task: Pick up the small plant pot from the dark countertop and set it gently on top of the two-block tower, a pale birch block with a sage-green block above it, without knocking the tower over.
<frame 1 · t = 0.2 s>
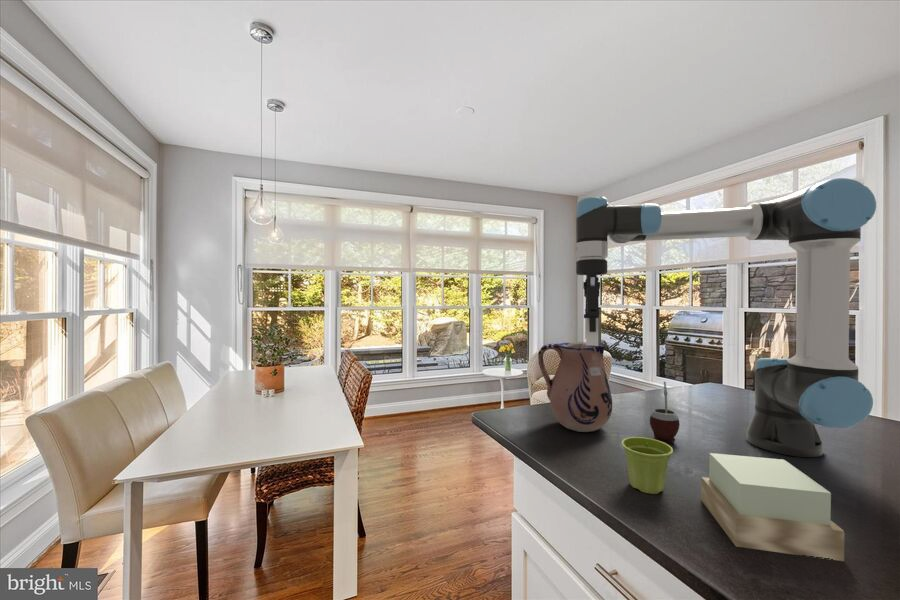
hand: (591, 342, 99), 28 cm above the kitchen island, tool pointing down, fingers open, 13 cm apart
ceramic pitcher: (574, 427, 115), on the kitchen island
plant pot: (646, 488, 79), on the kitchen island
lower block: (763, 529, 66), on the kitchen island, touching upper block
mate gourd: (663, 440, 105), on the kitchen island
upper block: (763, 499, 66), point 5 cm above the kitchen island, touching lower block
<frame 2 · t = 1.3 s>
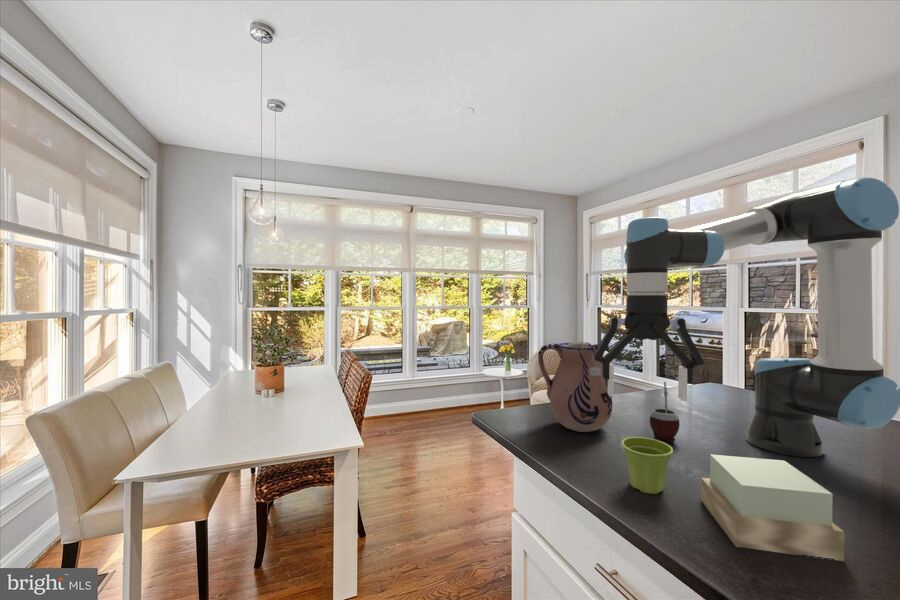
hand: (645, 397, 79), 19 cm above the kitchen island, tool pointing down, fingers open, 13 cm apart
nothing on the kitchen island moved.
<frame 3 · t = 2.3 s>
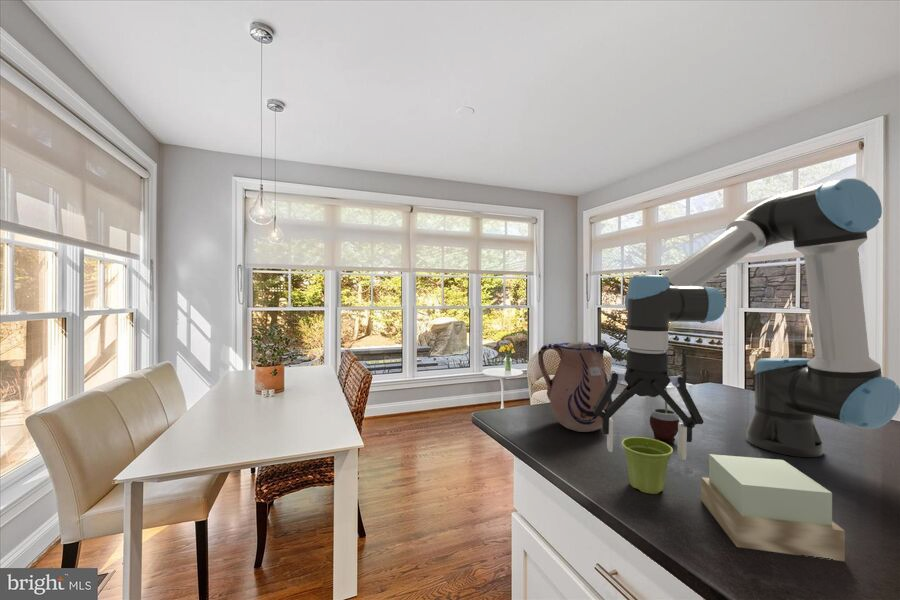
hand: (645, 453, 79), 7 cm above the kitchen island, tool pointing down, fingers open, 13 cm apart
lower block: (763, 529, 66), on the kitchen island
upper block: (763, 500, 66), point 5 cm above the kitchen island
everything else where it was.
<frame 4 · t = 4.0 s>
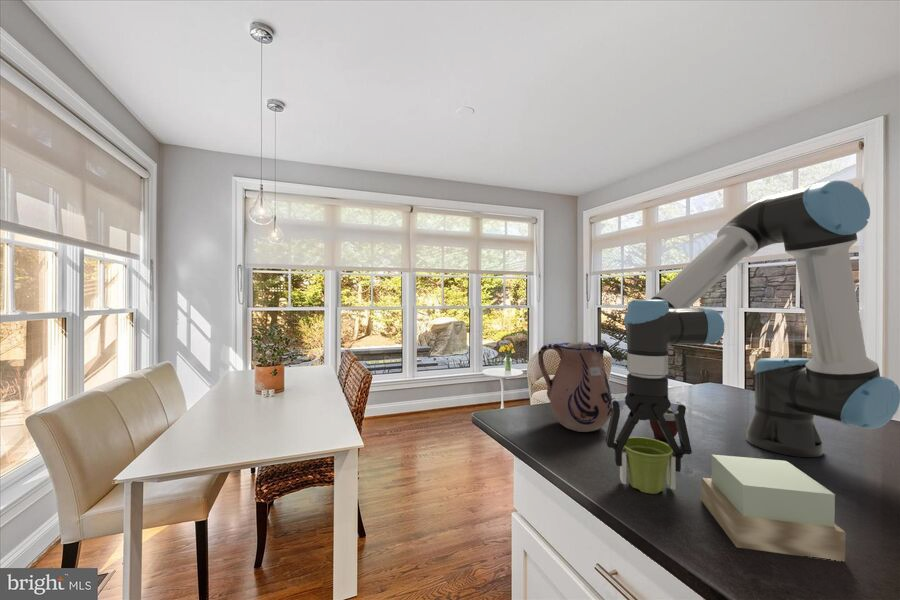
hand: (646, 483, 79), 1 cm above the kitchen island, tool pointing down, fingers closed on plant pot, 8 cm apart
plant pot: (646, 487, 79), on the kitchen island, touching gripper
lower block: (763, 530, 65), on the kitchen island, touching upper block
upper block: (766, 501, 65), point 4 cm above the kitchen island, touching lower block
everything else where it was.
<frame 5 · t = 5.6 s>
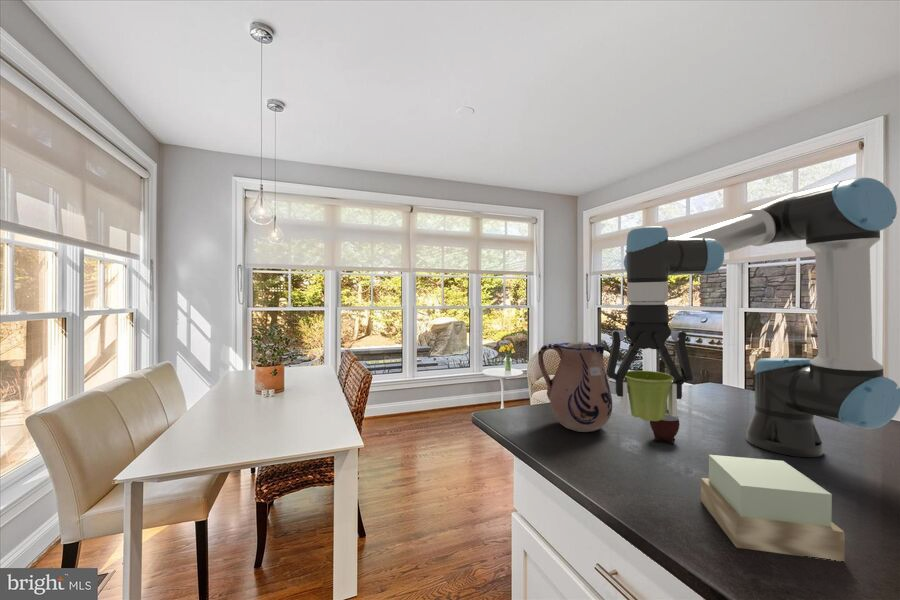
hand: (648, 413, 79), 15 cm above the kitchen island, tool pointing down, fingers closed on plant pot, 8 cm apart
plant pot: (647, 417, 79), point 14 cm above the kitchen island, touching gripper
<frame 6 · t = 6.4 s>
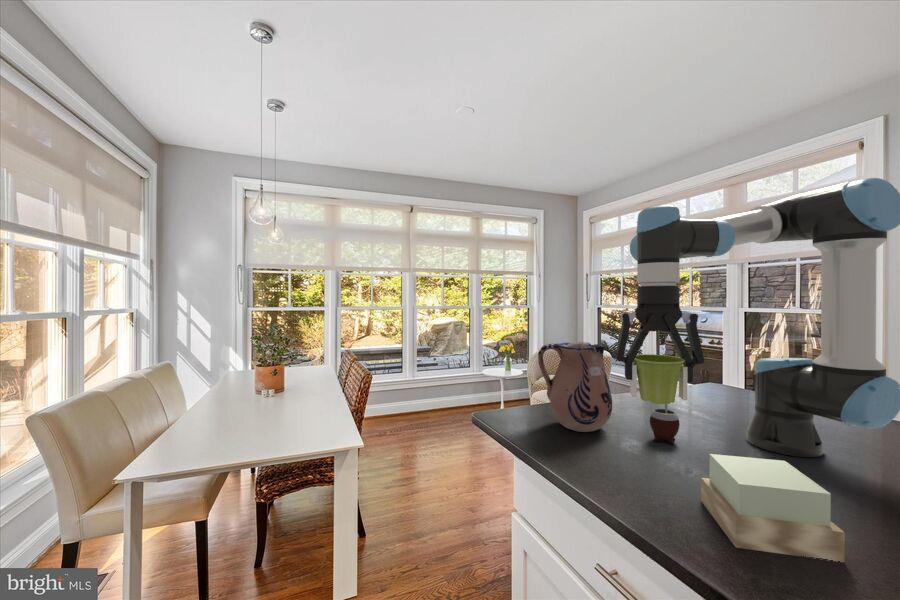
hand: (657, 396, 78), 19 cm above the kitchen island, tool pointing down, fingers closed on plant pot, 8 cm apart
plant pot: (657, 401, 78), point 18 cm above the kitchen island, touching gripper
everything else where it was.
when the fingers open (13 cm above the kitchen island, at t = 10.1 s): plant pot drops 2 cm, resting on upper block.
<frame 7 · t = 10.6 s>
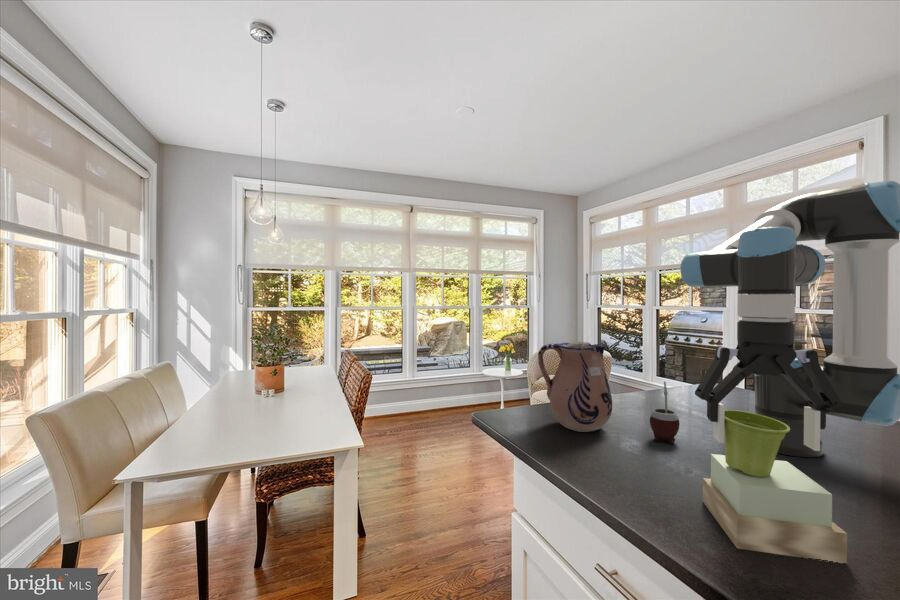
hand: (763, 444, 65), 14 cm above the kitchen island, tool pointing down, fingers open, 13 cm apart
plant pot: (747, 469, 66), point 10 cm above the kitchen island, touching gripper, upper block
upper block: (764, 500, 65), point 5 cm above the kitchen island, touching lower block, plant pot
everything else where it was.
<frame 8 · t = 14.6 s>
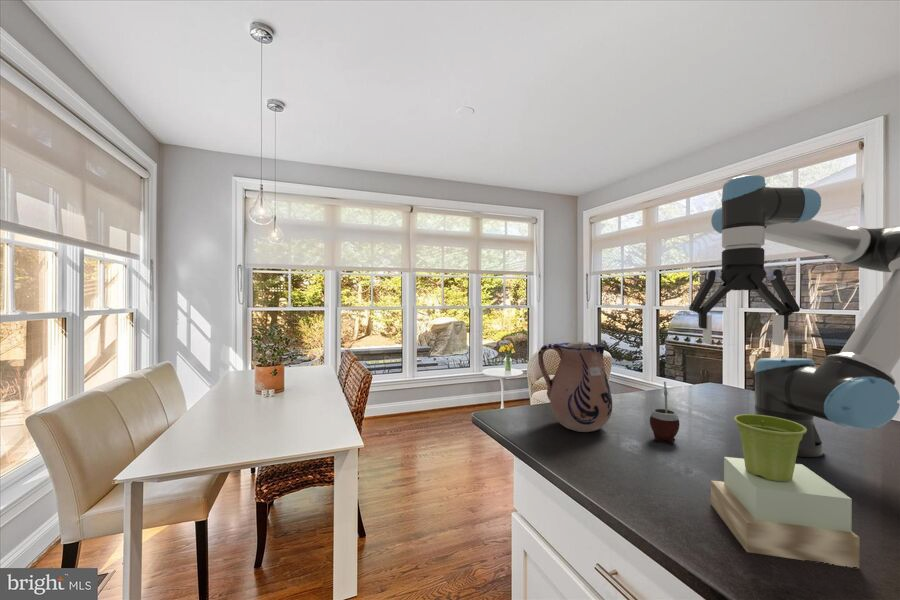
hand: (741, 344, 85), 29 cm above the kitchen island, tool pointing down, fingers open, 13 cm apart
plant pot: (768, 475, 65), point 9 cm above the kitchen island, touching upper block
lower block: (775, 534, 64), on the kitchen island, touching upper block
upper block: (780, 505, 64), point 4 cm above the kitchen island, touching lower block, plant pot
everything else where it was.
at the end: plant pot inside the target area on the upper block (1.7 cm from its centre), point 4.9 cm above the upper block's base; upper block 0.7 cm off-centre on the lower block, point 5.0 cm above the lower block's base; lower block moved 1.8 cm from its start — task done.
